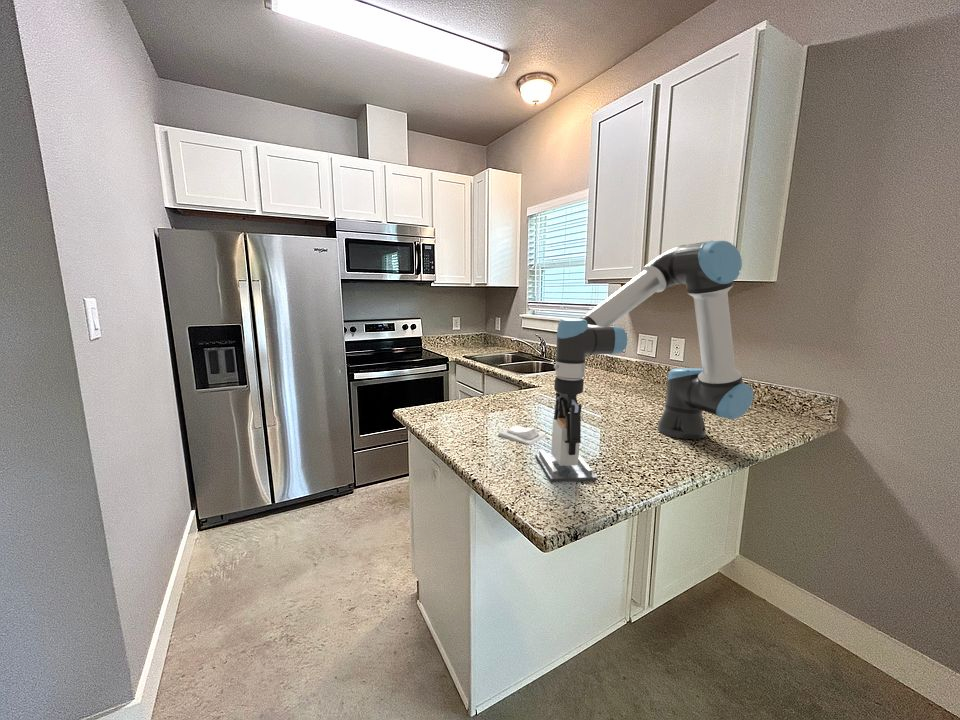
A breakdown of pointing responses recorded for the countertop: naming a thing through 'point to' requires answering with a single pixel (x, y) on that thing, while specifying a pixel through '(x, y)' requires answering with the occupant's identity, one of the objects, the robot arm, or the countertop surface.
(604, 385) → the countertop surface
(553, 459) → the rail
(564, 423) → the block
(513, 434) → the light switch
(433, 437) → the countertop surface
